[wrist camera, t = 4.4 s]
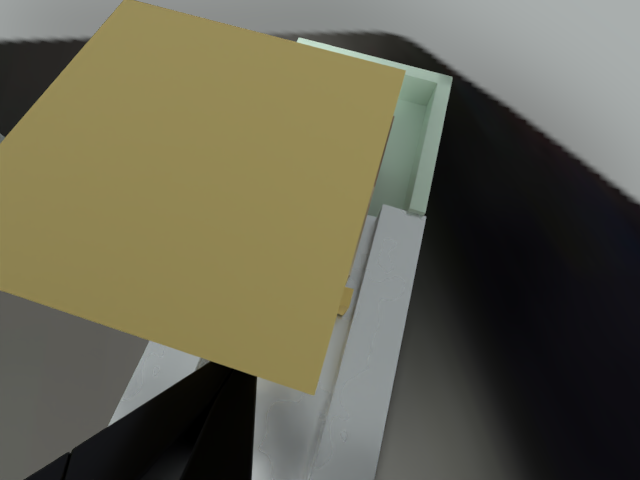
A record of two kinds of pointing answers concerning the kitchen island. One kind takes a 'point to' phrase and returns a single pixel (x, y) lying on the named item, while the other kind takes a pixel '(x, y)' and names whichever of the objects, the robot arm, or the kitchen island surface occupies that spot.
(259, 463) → the slot rail
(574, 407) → the kitchen island surface
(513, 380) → the kitchen island surface
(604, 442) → the kitchen island surface
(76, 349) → the kitchen island surface
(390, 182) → the tray
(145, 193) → the tall yellow pillar
